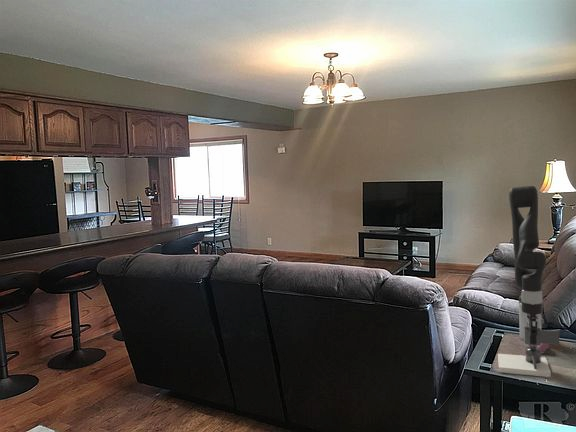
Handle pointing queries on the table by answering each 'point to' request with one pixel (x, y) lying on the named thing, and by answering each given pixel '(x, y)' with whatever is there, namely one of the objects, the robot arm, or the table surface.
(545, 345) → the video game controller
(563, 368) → the table surface
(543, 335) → the grey rectangular block
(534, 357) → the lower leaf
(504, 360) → the board
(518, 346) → the table surface
